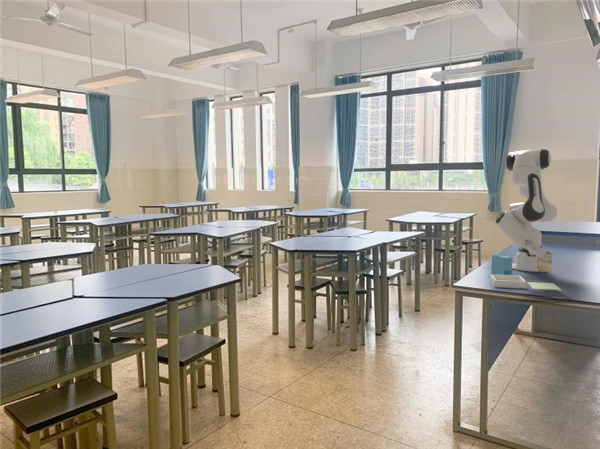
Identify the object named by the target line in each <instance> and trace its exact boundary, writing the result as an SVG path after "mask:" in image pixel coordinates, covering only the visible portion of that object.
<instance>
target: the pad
mask: <svg viewBox="0 0 600 449" xmlns="http://www.w3.org/2000/svg"><path fill="white" fill-rule="evenodd" d="M526 284H528V285H529V286H530V287H531V289H533V290H545V291H546V290H548V291H549V290H550V291H557V292H559V293H560V292H561V293H562V292H563V290H562V289H561V288H560V287H559V286H558V285H556V284H555V283H554V282H553V283H551V282H533V281H529V282H528V281H526Z"/></svg>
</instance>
